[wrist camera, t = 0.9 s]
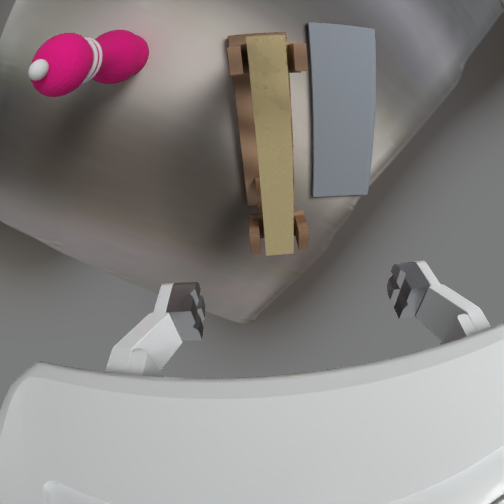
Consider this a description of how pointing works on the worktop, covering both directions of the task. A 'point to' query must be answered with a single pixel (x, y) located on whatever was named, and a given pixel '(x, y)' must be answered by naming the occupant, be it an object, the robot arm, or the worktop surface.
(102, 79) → the pepper mill
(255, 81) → the brass rail
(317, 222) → the worktop surface
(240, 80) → the stand
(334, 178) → the slate mat
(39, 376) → the robot arm
